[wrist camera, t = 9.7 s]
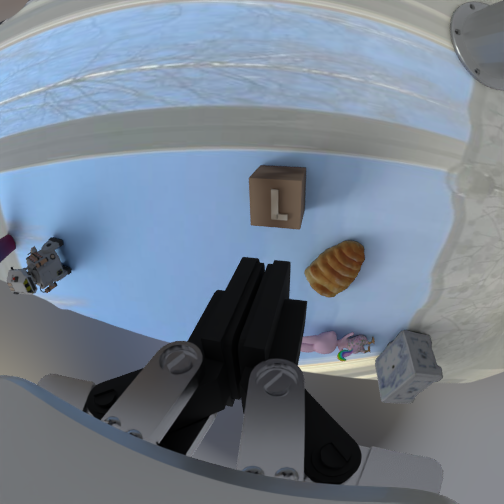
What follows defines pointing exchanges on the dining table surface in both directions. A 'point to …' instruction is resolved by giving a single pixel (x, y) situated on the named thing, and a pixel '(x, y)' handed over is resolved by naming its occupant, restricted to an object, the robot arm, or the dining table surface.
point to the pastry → (335, 268)
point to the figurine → (39, 270)
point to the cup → (6, 246)
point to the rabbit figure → (335, 344)
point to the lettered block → (277, 196)
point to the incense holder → (406, 367)
